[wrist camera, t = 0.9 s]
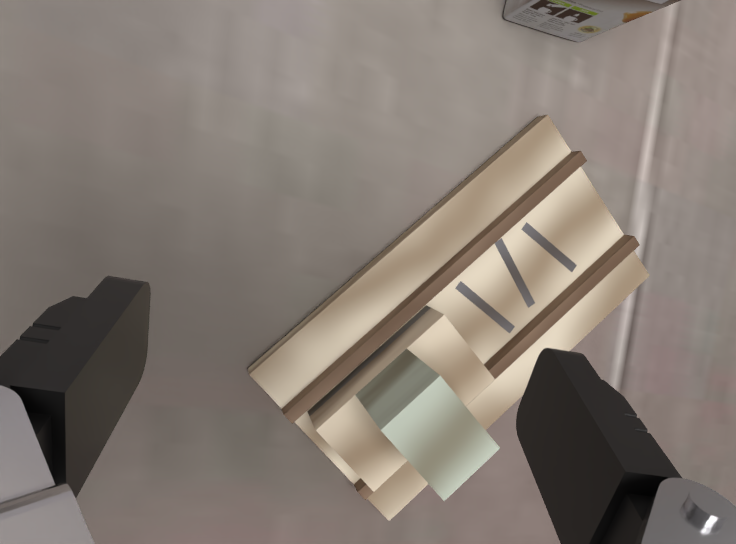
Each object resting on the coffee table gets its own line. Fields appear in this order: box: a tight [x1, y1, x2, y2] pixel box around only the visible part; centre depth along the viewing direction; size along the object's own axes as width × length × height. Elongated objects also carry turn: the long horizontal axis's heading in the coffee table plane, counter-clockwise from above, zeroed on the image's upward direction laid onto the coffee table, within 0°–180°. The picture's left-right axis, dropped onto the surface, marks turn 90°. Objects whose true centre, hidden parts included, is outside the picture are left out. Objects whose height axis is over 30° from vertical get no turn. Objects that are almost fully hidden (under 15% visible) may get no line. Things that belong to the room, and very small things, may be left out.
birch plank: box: [248, 115, 650, 521], centre depth 38 cm, size 14×25×2 cm, turn 129°
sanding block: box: [307, 305, 500, 501], centre depth 33 cm, size 6×10×8 cm, turn 129°
